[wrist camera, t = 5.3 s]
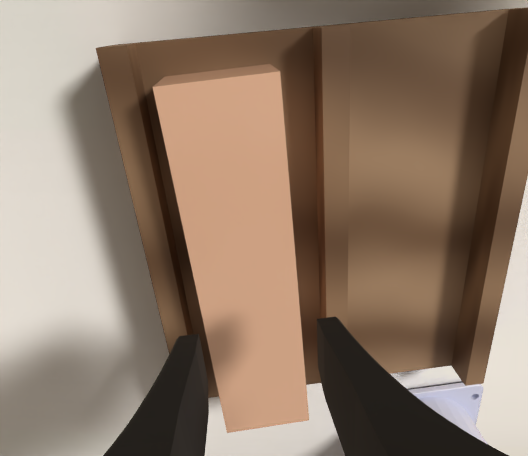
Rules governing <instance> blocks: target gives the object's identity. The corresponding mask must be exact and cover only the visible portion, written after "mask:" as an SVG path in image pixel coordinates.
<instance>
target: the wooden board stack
mask: <svg viewBox="0 0 528 456" xmlns="http://www.w3.org/2000/svg"><path fill="white" fill-rule="evenodd" d="M96 51H97V55H98V59H99V63H100V68H101V72H102V76H103V80H104V84H105V88H106V93H107V97H108V101H109V105H110V109H111V113H112V118H113V122H114V126H115V130H116V134H117V138H118V143H119V147H120V151H121V155H122V159H123V163H124V167H125V172H126V176H127V180H128V184H129V188H130V192H131V197H132V201H133V205H134V209H135V213H136V217H137V222H138V226H139V230H140V234H141V238H142V242H143V246H144V251H145V255H146V259H147V263H148V267H149V271H150V276H151V280H152V284H153V288H154V292H155V296H156V301H157V305H158V309H159V313H160V317H161V321H162V326H163V330H164V334H165V338H166V342H167V346H168V350H169V354H170V352H171V350H172V348H173V346H174V344H175V342H176V339H177V338H178V337H179V336H185V335H193V334H199V337H200V342H201V347H202V353H203V358H204V363H205V368H206V373H207V378H208V398H209V397H217V396H219V393H218V388H217V383H216V379H215V374H214V369H213V365H212V360H211V355H210V351H209V346H208V342H207V337H206V332H205V328H204V323H203V318H202V314H201V309H200V305H199V300H198V295H197V291H196V286H195V281H194V277H193V272H192V267H191V263H190V258H189V254H188V249H187V244H186V240H185V235H184V230H183V226H182V221H181V217H180V212H179V207H178V203H177V198H176V193H175V189H174V184H173V179H172V175H171V170H170V166H169V161H168V156H167V152H166V147H165V142H164V138H163V133H162V129H161V124H160V119H159V115H158V110H157V105H156V101H155V96H154V91H153V86H154V85H155V84H157V83H158V82H159V81H160V80H161V79H162V78H164V77H166V76H174V75H182V74H191V73H199V72H207V71H215V70H223V69H232V68H240V67H248V66H256V65H264V64H271V65H272V66H274V67H275V68H276V69H278V70H279V71H280V76H281V88H282V100H283V112H284V124H285V136H286V148H287V160H288V172H289V185H290V197H291V209H292V221H293V233H294V245H295V257H296V269H297V281H298V293H299V305H300V317H301V329H302V341H303V353H304V365H305V378H306V385H307V384H315V383H321V378H320V374H319V369H318V351H317V319H320V318H327V317H335V316H336V317H337V318H338V319H339V320H340V321H341V322H342V324H343V325H344V326H345V327H346V329H347V330H348V331H349V332H350V333H351V335H352V336H353V337H354V338H355V339H356V340H357V341H358V342H359V344H360V345H361V346H362V347H363V348H364V349H365V350H366V351H367V352H368V353H369V354H370V355H371V356H372V357H373V358H374V359H375V360H376V361H377V362H378V363H379V364H380V365H381V366H382V367H383V368H384V369H385V370H386V371H387V372H388V373H389V374H390V373H397V372H405V371H412V370H420V369H427V368H435V367H442V366H450V365H452V367H453V368H454V370H455V371H456V373H457V374H458V376H459V377H460V379H461V380H462V382H463V383H464V384H465V386H467V385H475V384H482V383H484V378H485V373H486V368H487V364H488V359H489V354H490V350H491V345H492V340H493V335H494V331H495V326H496V321H497V317H498V312H499V307H500V303H501V298H502V293H503V288H504V284H505V279H506V274H507V270H508V265H509V260H510V256H511V251H512V246H513V241H514V237H515V232H516V227H517V223H518V218H519V213H520V209H521V204H522V199H523V194H524V190H525V185H526V180H527V176H528V8H514V9H502V10H491V11H480V12H469V13H458V14H447V15H436V16H425V17H414V18H403V19H392V20H381V21H370V22H359V23H348V24H338V25H327V26H316V27H305V28H294V29H283V30H272V31H261V32H250V33H239V34H228V35H217V36H206V37H195V38H184V39H173V40H162V41H151V42H140V43H129V44H118V45H111V46H105V47H99V48H96Z"/></svg>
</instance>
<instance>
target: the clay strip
mask: <svg viewBox="0 0 528 456" xmlns="http://www.w3.org/2000/svg"><path fill="white" fill-rule="evenodd" d="M153 91H154V96H155V101H156V105H157V110H158V115H159V119H160V124H161V129H162V133H163V138H164V142H165V147H166V152H167V156H168V161H169V166H170V170H171V175H172V179H173V184H174V189H175V193H176V198H177V203H178V207H179V212H180V217H181V221H182V226H183V230H184V235H185V240H186V244H187V249H188V254H189V258H190V263H191V267H192V272H193V277H194V281H195V286H196V291H197V295H198V300H199V305H200V309H201V314H202V318H203V323H204V328H205V332H206V337H207V342H208V346H209V351H210V355H211V360H212V365H213V369H214V374H215V379H216V383H217V388H218V393H219V397H220V402H221V406H222V411H223V416H224V420H225V425H226V430H227V433H229V432H236V431H242V430H249V429H255V428H261V427H268V426H274V425H281V424H287V423H294V422H300V421H307V420H309V414H308V402H307V390H306V378H305V365H304V353H303V341H302V329H301V317H300V305H299V293H298V281H297V269H296V257H295V245H294V233H293V221H292V209H291V197H290V185H289V172H288V160H287V148H286V136H285V124H284V112H283V100H282V88H281V76H280V71H279V70H278V69H276V68H275V67H274V66H272V65H271V64H264V65H256V66H248V67H240V68H232V69H223V70H215V71H207V72H199V73H191V74H182V75H174V76H166V77H164V78H162V79H161V80H160V81H159V82H158V83H157V84H155V85H154V86H153Z"/></svg>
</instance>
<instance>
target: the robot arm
mask: <svg viewBox="0 0 528 456" xmlns="http://www.w3.org/2000/svg"><path fill="white" fill-rule="evenodd" d="M317 351H318V369H319V374H320V378H321V383H322V387H323V391H324V395H325V399H326V402H327V405H328V408H329V411H330V413H331V416H332V419H333V422H334V425H335V428H336V431H337V433H338V436H339V439H340V442H341V445H342V447H343V450H344V453H345V456H508V455H506V454H504V453H502V452H500V451H499V450H497V449H495V448H493V447H491V446H490V445H488V444H487V442H486V441H485V439H484V438H483V436H482V435H481V433H480V431H479V430H478V428H477V427H476V421H477V417H478V412H479V407H480V403H481V398H482V393H483V386H482V385H481V384H475V385H467V386H465V384H464V383H455V384H448V385H441V386H433V387H426V388H419V389H411V390H407V389H406V388H405V387H404V386H402V385H401V384H400V383H399V382H398V381H397V380H396V379H395V378H393V377H392V376H391V375H390V374H389V373H388V372H387V371H386V370H385V369H384V368H383V367H382V366H381V365H380V364H379V363H378V362H377V361H376V360H375V359H374V358H373V357H372V356H371V355H370V354H369V353H368V352H367V351H366V350H365V349H364V348H363V347H362V346H361V345H360V344H359V342H358V341H357V340H356V339H355V338H354V337H353V336H352V335H351V333H350V332H349V331H348V330H347V329H346V327H345V326H344V325H343V324H342V322H341V321H340V320H339V319H338V318H337V317H336V316H335V317H327V318H320V319H317ZM207 424H208V378H207V373H206V368H205V363H204V358H203V353H202V347H201V342H200V337H199V334H193V335H185V336H179V337H178V338H177V339H176V342H175V344H174V346H173V348H172V350H171V352H170V354H169V357H168V359H167V360H166V362H165V364H164V366H163V368H162V370H161V372H160V374H159V375H158V377H157V379H156V381H155V382H154V384H153V386H152V388H151V389H150V391H149V393H148V394H147V396H146V397H145V399H144V401H143V402H142V404H141V405H140V407H139V408H138V410H137V411H136V413H135V414H134V416H133V417H132V419H131V420H130V422H129V423H128V425H127V426H126V427H125V429H124V430H123V431H122V433H121V434H120V435H119V437H118V438H117V439H116V441H115V442H114V443H113V444H112V446H111V447H110V448H109V449H108V451H107V452H106V453H105V454H104V455H103V456H204V454H205V444H206V434H207Z"/></svg>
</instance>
